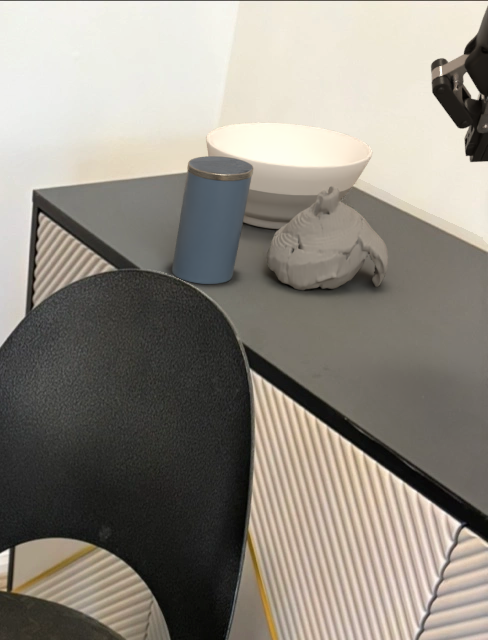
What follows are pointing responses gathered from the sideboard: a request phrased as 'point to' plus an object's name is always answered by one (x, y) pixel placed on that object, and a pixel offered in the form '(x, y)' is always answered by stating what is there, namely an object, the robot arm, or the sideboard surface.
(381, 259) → the grey clay mound
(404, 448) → the sideboard surface
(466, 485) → the sideboard surface
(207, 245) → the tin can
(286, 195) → the bowl
